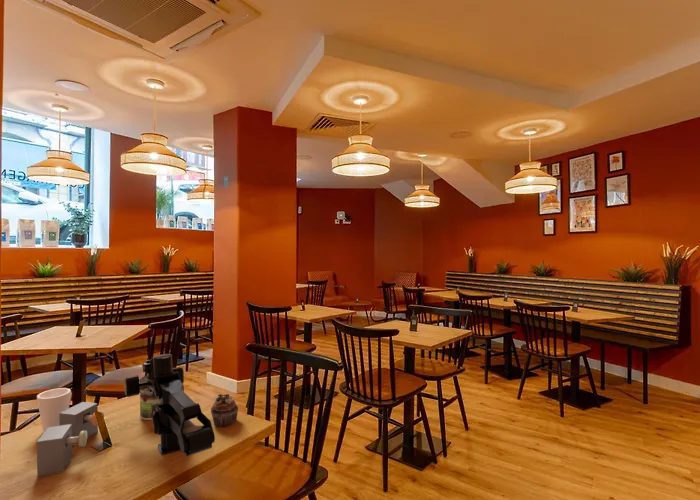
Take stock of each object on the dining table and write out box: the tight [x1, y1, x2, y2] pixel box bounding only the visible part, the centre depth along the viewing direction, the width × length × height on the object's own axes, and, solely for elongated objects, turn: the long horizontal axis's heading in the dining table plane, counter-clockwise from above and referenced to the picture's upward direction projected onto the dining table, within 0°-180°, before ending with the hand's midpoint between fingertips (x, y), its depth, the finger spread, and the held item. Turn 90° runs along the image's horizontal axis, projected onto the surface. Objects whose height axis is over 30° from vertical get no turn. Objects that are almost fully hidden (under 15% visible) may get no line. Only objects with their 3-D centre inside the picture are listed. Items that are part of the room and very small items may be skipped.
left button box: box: [36, 424, 73, 477], centre depth 118 cm, size 6×9×10 cm, turn 20°
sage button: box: [65, 430, 88, 448], centre depth 119 cm, size 6×4×4 cm
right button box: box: [59, 401, 99, 446], centre depth 135 cm, size 6×9×10 cm, turn 170°
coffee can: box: [139, 375, 163, 421], centre depth 152 cm, size 10×10×14 cm
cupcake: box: [210, 393, 239, 428], centre depth 146 cm, size 10×10×10 cm
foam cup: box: [36, 387, 72, 433], centre depth 140 cm, size 10×9×13 cm
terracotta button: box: [83, 411, 105, 427], centre depth 134 cm, size 6×4×4 cm
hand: (149, 377), depth 147 cm, fingers open, 9 cm apart
